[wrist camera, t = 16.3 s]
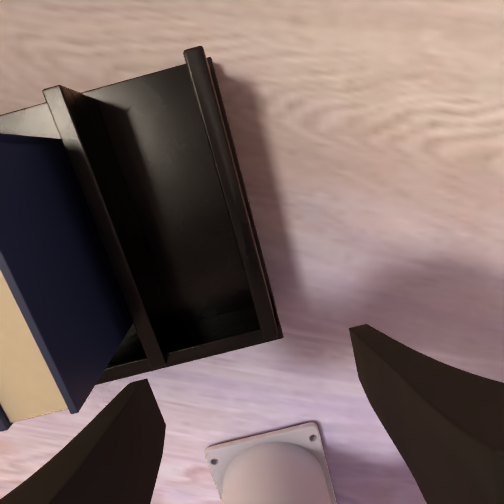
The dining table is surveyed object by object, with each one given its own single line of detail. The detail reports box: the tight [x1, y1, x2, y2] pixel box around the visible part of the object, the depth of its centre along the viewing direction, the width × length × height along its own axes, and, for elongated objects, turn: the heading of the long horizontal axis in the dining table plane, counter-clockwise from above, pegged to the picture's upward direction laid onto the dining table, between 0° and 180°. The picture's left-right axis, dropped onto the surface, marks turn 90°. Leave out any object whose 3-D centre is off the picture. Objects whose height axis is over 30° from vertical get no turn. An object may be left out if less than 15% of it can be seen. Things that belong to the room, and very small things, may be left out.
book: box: [0, 133, 133, 431], centre depth 15 cm, size 10×3×8 cm, turn 14°
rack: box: [0, 46, 283, 385], centre depth 18 cm, size 14×19×4 cm
